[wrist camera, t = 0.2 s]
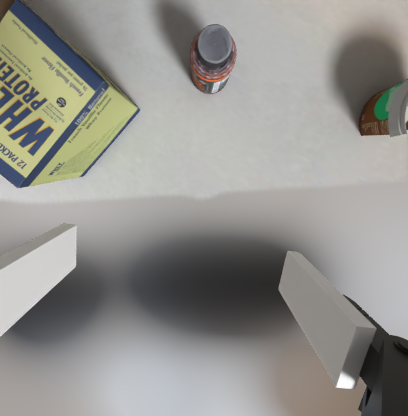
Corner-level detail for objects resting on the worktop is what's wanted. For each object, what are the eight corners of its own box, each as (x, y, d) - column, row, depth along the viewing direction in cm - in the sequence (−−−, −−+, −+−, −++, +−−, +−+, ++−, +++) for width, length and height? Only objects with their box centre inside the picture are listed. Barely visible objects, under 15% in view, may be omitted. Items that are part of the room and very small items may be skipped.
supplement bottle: (183, 72, 37) (177, 39, 26) (211, 45, 37) (217, -1, 26) (207, 103, 38) (211, 83, 27) (235, 77, 38) (251, 46, 27)
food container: (409, 66, 38) (482, 36, 28) (421, 101, 39) (495, 84, 29) (339, 107, 39) (387, 91, 29) (353, 140, 40) (403, 135, 31)
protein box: (142, 109, 38) (105, 79, 23) (84, 177, 41) (16, 192, 26) (90, 59, 37) (15, -7, 21) (33, 134, 39) (-72, 122, 24)
